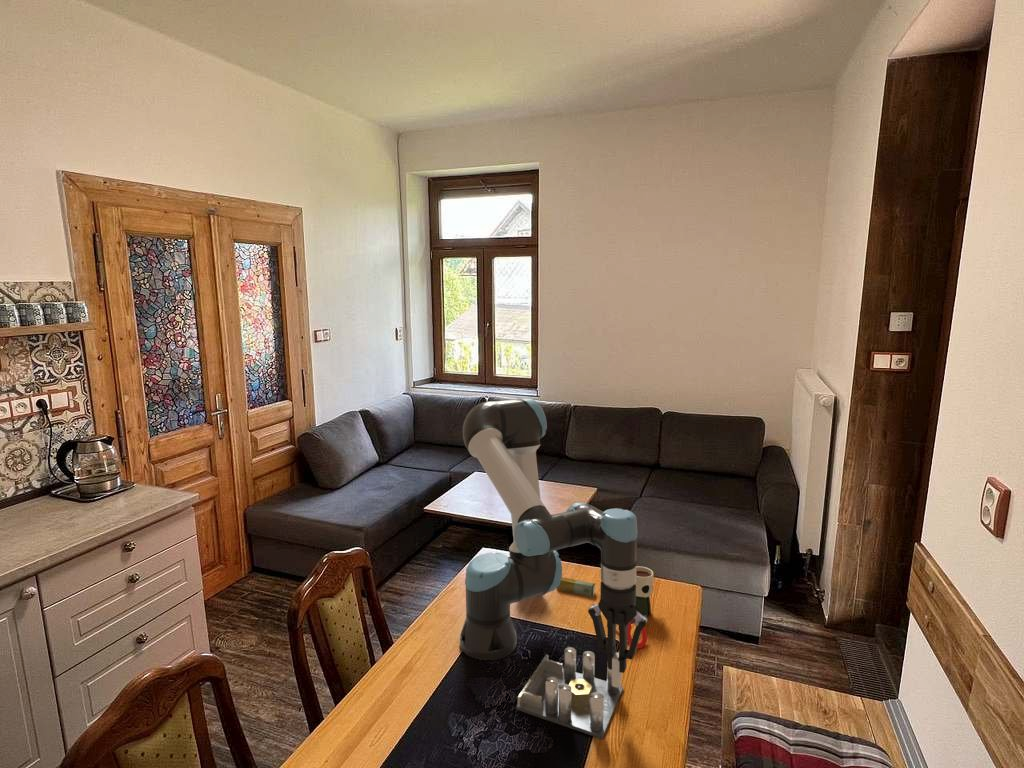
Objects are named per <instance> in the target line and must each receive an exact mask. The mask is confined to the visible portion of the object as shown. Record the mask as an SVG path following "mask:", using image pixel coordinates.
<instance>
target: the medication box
mask: <svg viewBox="0 0 1024 768" xmlns="http://www.w3.org/2000/svg"><path fill="white" fill-rule="evenodd" d="M556 590H559V591H562V592H567V593H571V594H572V593H573V594H576V595H582V596H586V597H591V598H592V597H594V596H595V594H596V593H595V592H596V591H595V590H596V583H594V582H590V581H589V582H588V581H584V580H578V579H574V578H567V577H563V576H562V578H561V581H560V584H559V585H558V586H557V588H556Z"/></svg>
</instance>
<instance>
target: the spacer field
mask: <svg viewBox="0 0 1024 768" xmlns="http://www.w3.org/2000/svg"><path fill="white" fill-rule="evenodd" d="M563 652H564V654H563V655H564V658H563V659H564V661H563V662H564V663H563V662H558V661H555V660H552V659H549V657H550V655H549V654H545V655H544V657H543V658H542V660H541V662H540V663H539V665H538V666H537V667H536V669H535V670H534V672H533V673H532V675H531V676H530V678H529V679H528V680H527V682H526V684H525V685H524V687H523V688H522V690H521V691H520V693H519V694H518V696H517V705H516V710H517V711H519V712H523V713H525V714H528V715H532V716H534V717H537V718H540V719H543V720H546V721H548V722H551V723H554V724H557V725H560V726H562V727H567V728H568V729H572V730H575V731H578V732H580V733H584V734H586V735H589V736H592V737H595V738H598V739H601V740H604V737H605V735H606V732H607V730H608V727H609V724H611V720H612V718H613V716H614V713H615V710H616V708H617V705H618V703H619V700H620V698H621V696H622V694H623V691H624V685H621V684H620V686H619V688H617V687H613V686H612V670H610V669H608V662H607V664H606V665H607V667H606V669H607V671H606V672H607V673H606V680H603V679H600V678H597V677H595V668H596V666H595V665H596V664H595V662H596V660H595V659H596V658H595V657H596V655H595V653H594V652H593V651H590V650H586V651H584V652H583V653H582V673H580V672H577V649H575V647H571V646H568V647H566V648H565V649H564V651H563ZM577 679H584V680H585V681H587V682H588V683H589V684H590V685H591V686H592V694H591V695H590V703H589V705H588V706H581V707H575V706H574V705H573V704H572V703H571V700H572V688H571V686H570V685H569V683H570V682H571V680H577Z"/></svg>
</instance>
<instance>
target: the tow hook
mask: <svg viewBox="0 0 1024 768" xmlns="http://www.w3.org/2000/svg"><path fill="white" fill-rule="evenodd" d="M635 621H636V618H635V617H634V618H633V619H632V620H631V621H630V622H629V623H628V629H627V643H629V645H631V641H632V638H633V637H632V634H631V631H632V629H633V627H632V625H634V624H635V625H634V626H635V627H636V626H637V625H636V623H635ZM617 626H619V625H618V624H616V627H617ZM641 637H642V638H641V640H640V642H638V645H637V648H636V649H642V648H643V647H645V646H646V644H647V642H648V641H647V640H648V633H647V629H646V626H645V627H644V628H643V629H642V631H641Z"/></svg>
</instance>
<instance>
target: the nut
mask: <svg viewBox="0 0 1024 768" xmlns="http://www.w3.org/2000/svg"><path fill="white" fill-rule="evenodd" d="M569 685H570V686H571V688H572V700H571V703H572V704H573V705H574V706H575V707H581V706H588V705H589V703H590V695H591V694H592V686H591V685H590V684H589V683H588V682H587V681H585V680H584V679H577V680H571V682H570V683H569Z"/></svg>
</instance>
